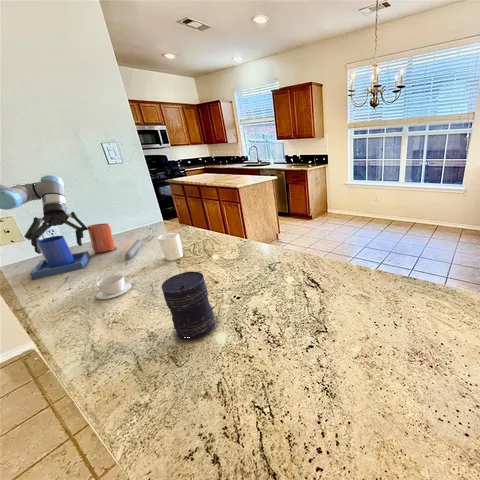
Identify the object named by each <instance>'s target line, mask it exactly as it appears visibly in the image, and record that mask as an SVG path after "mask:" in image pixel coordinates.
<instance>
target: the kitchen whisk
mask: <svg viewBox="0 0 480 480" xmlns="http://www.w3.org/2000/svg"><path fill="white" fill-rule="evenodd" d="M147 228H148V229H149V230H150V231H149V232H148V234H151V232H152V233H153V234H152V235H151V236H150V237H149V235H146V238H145V239H143V238H142V237H143V236H144V235H145V233H146V232H147V229H145V227H142V230H145V231H144V232H143V233H142V231H139V233H138V235H137V236H138V237H140V238H139V239H136V241H135V242H134V243H133V244H132V245H131V246H130V248H129V249H128V250H127V251H126V252H125V253H124V255H123V258H124V259H125V260H130V259H131V258H133V256H134V255H135V253H136V252H137V251H138V250H139V248H141V246H142V245H143V243H144V242H147V241H149V240H150V239H151V238H153V237H154V235H155V234H156V233H157V232H156V230H153V229H154V226H153V227H152V226H151V224H149V225H147ZM153 231H155V232H153ZM141 233H142V234H141ZM148 237H149V238H148Z"/></svg>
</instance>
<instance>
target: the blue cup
mask: <svg viewBox="0 0 480 480" xmlns="http://www.w3.org/2000/svg"><path fill="white" fill-rule="evenodd" d="M37 245H38V247H39V249H40V251H41V255H42V257H43V260H45V261H46V263H47V264H48V266H49V268H55V267H60V266H64V265H69V264H74V263H75V260H74V258H73V256H72V254H73V253H72V252H71V249H70V247H69V245H68V243H67V241H66V238H65V237H64V235H54V236H49V237H45V238H42V239H39V241H37Z"/></svg>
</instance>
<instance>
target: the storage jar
mask: <svg viewBox="0 0 480 480" xmlns="http://www.w3.org/2000/svg"><path fill="white" fill-rule="evenodd" d="M160 286H161V287H160V288H161V291H162V294H163V298H164V301H165V304H166V307H167V308H168V309H169V311H170V315H171V321H172V323H173V324H172V325H173V328H174V330H175V332H176V335H177V338H178V339H179V340H181V341H183V342H193V341H196V340H197V341H198V340H199V339H202V338H204V337H206V336H208V335H209V334H210V333H211V332H212V331H213V330H214V329H215V327H216V320H215V314H214V310H213V307H212V305H211V303H210V301H209V291H208V288H207V283H206V280H205V277H204V274H203V273H201V272H199V271H186V272H181V273H178V274H175V275H173V276H171V277H169V278H167V279H166V280H164V281H163V283H162V284H161V285H160ZM184 337H186V338H184ZM187 337H190V338H187Z"/></svg>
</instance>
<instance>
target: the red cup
mask: <svg viewBox="0 0 480 480" xmlns="http://www.w3.org/2000/svg"><path fill="white" fill-rule="evenodd" d="M86 227H87V228H88V230H87V232H88V235H89V240H90V243H91V247H92V251H93V253H104V252H110V251H113V250H116V246H115V242H114V237H113V233H112V227H111V223H107V222H105V223H95V224H89V225H87V226H86Z"/></svg>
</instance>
